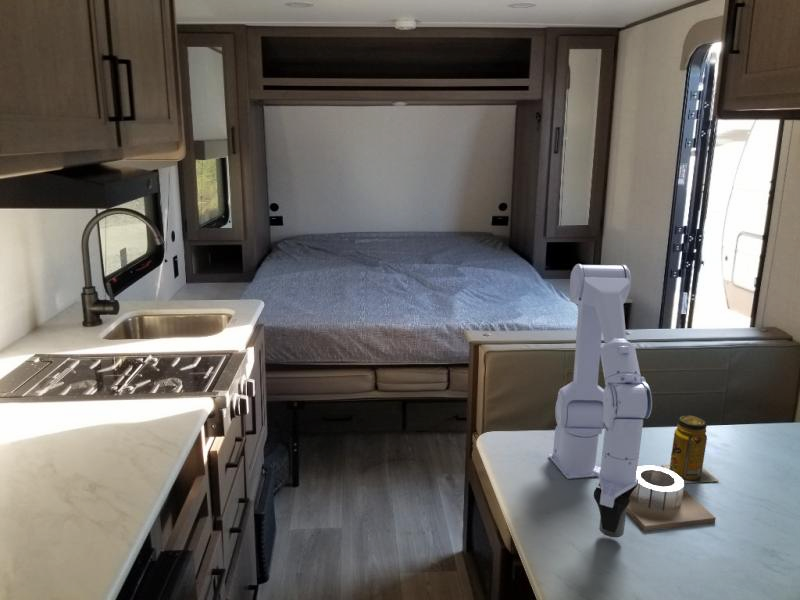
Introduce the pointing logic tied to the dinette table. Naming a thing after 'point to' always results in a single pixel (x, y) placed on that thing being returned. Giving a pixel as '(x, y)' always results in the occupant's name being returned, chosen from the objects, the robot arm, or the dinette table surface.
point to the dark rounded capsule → (620, 528)
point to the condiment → (690, 451)
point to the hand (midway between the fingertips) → (612, 522)
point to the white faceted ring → (658, 488)
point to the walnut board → (670, 514)
